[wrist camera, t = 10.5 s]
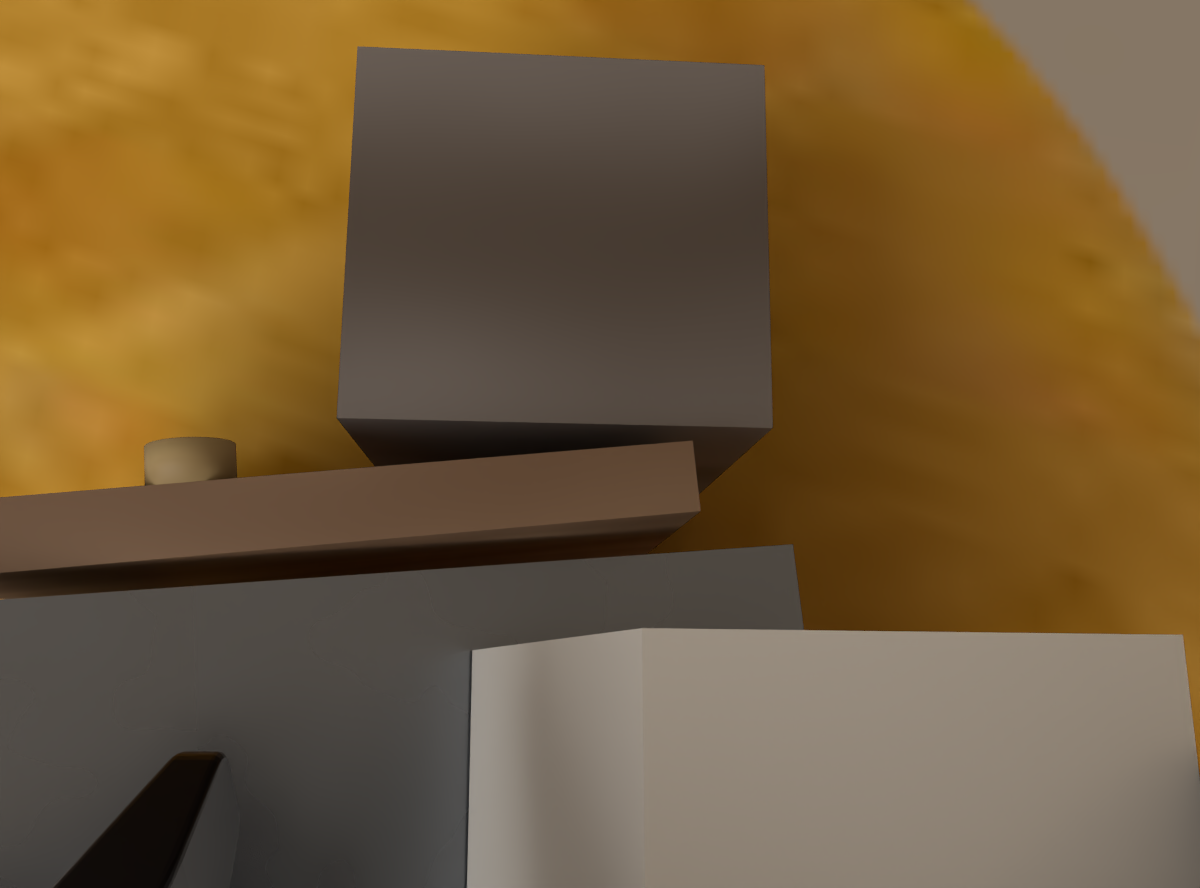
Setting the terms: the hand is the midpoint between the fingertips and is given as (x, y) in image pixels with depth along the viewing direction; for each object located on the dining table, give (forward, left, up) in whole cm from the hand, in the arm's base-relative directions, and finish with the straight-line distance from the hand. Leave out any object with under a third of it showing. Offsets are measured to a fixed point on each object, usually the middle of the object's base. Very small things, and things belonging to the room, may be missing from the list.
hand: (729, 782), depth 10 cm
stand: (+8, +1, -13) cm, 15 cm away
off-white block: (-1, 0, -6) cm, 6 cm away
